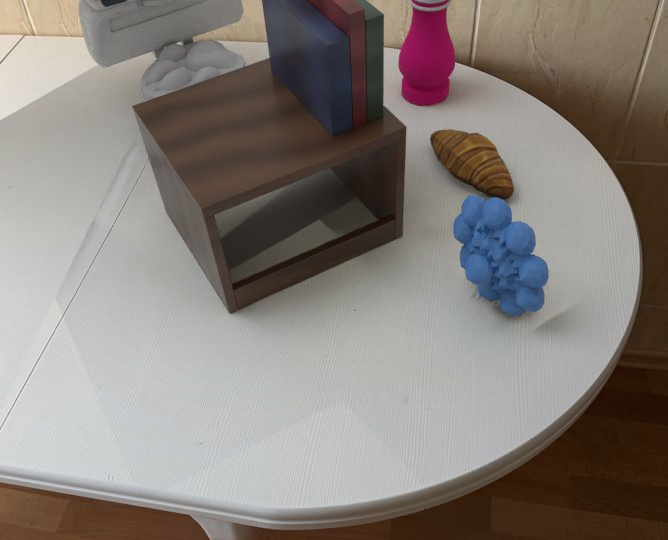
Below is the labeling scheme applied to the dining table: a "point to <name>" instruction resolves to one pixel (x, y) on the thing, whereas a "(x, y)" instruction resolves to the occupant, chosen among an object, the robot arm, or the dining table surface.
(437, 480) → the dining table surface
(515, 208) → the dining table surface
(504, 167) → the croissant
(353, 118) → the bookshelf
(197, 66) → the lumpy-topped squat cylinder
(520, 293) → the grapes
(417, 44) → the pepper mill
